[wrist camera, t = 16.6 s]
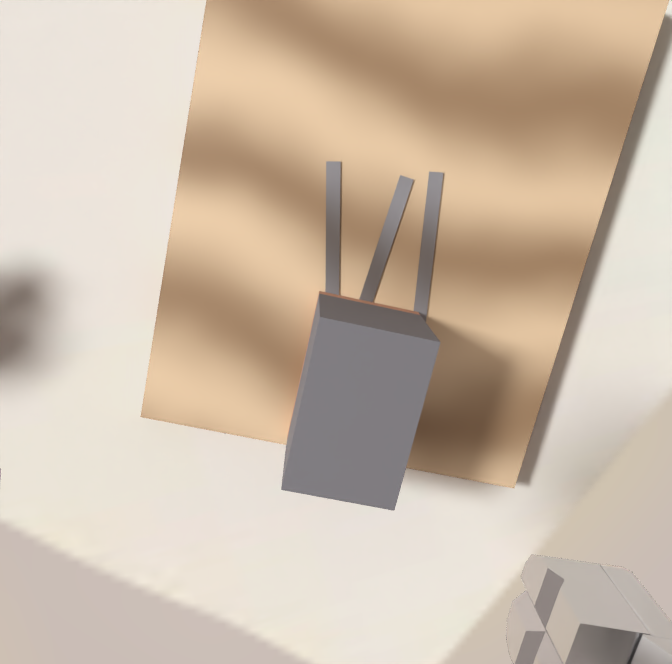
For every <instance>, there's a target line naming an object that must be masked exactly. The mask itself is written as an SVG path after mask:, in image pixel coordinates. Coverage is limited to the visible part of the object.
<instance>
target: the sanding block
mask: <svg viewBox="0 0 672 664" xmlns="http://www.w3.org/2000/svg"><path fill="white" fill-rule="evenodd" d="M439 346H440V341H439V339H438V338H437V337H436V335H435V334H434V333H433V331H432V330H431V329H430V327H429V326H428V325H427V323H426V322H425V321H424V319H423V318H422V316H421V315H420V314H419V312H416V311H411V310H406V309H402V308H397V307H392V306H388V305H383V304H378V303H374V302H369V301H364V300H360V299H355V298H350V297H346V296H341V295H336V294H332V293H327V292H322V291H319V294H318V298H317V303H316V307H315V312H314V317H313V321H312V326H311V330H310V335H309V339H308V344H307V348H306V353H305V358H304V362H303V367H302V371H301V376H300V380H299V385H298V389H297V394H296V399H295V403H294V408H293V412H292V417H291V421H290V426H289V431H288V435H287V444H286V452H285V461H284V470H283V479H282V488H281V490H285V491H291V492H296V493H302V494H307V495H313V496H318V497H323V498H329V499H334V500H340V501H345V502H351V503H356V504H361V505H367V506H372V507H378V508H383V509H389V510H395V506H396V502H397V499H398V495H399V491H400V488H401V484H402V481H403V477H404V473H405V470H406V466H407V462H408V459H409V455H410V451H411V448H412V444H413V441H414V437H415V433H416V430H417V426H418V422H419V419H420V415H421V412H422V408H423V404H424V401H425V397H426V393H427V390H428V386H429V382H430V379H431V375H432V372H433V368H434V364H435V361H436V357H437V353H438V350H439Z"/></svg>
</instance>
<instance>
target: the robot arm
mask: <svg viewBox="0 0 672 664" xmlns="http://www.w3.org/2000/svg"><path fill="white" fill-rule="evenodd" d="M0 478H1V469H0ZM521 579H522V582H523V584H524V587H525V589H526V591H524V592H523V593H522V594H521V595H520V596H518V597H517V598H516V599H514V600H513V601H512V605H511V608H510V611H509V615H508V618H507V634H506V640H507V645H508V651H509V655H510V657H511V660H512V662H513V664H672V621H671V620H670V619H669V618H668V616H667V615H666V614H665V613H664V611H663V610H662V609H661V607H660V606H659V605H658V604H657V603H656V601H655V600H654V599H653V598H652V596H651V595H650V594H649V593H648V591H647V590H646V589H645V587H644V586H643V585H642V584H641V582H640V581H639V580H638V578H637V577H636V576H635V575H634V574H633V572H631V571H630V570H628V569H626V568H624V567H620V566H613V565H604V564H597V563H589V562H582V561H576V560H569V559H562V558H555V557H548V556H541V555H532V554H531V556H530V557H529V559H528V560H527V561H526V563H525V565H524V568H523V571H522V574H521Z"/></svg>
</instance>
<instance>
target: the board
mask: <svg viewBox="0 0 672 664" xmlns="http://www.w3.org/2000/svg"><path fill="white" fill-rule="evenodd" d="M668 2H669V0H207V1H206V7H205V14H204V20H203V26H202V33H201V39H200V45H199V51H198V58H197V64H196V70H195V77H194V83H193V89H192V96H191V102H190V108H189V115H188V121H187V127H186V134H185V140H184V146H183V152H182V159H181V165H180V171H179V178H178V184H177V190H176V197H175V203H174V209H173V216H172V222H171V228H170V235H169V241H168V247H167V253H166V260H165V266H164V272H163V279H162V285H161V291H160V298H159V304H158V310H157V317H156V323H155V329H154V336H153V342H152V348H151V355H150V361H149V367H148V373H147V380H146V386H145V392H144V399H143V405H142V411H141V417H143V418H149V419H154V420H159V421H164V422H169V423H175V424H180V425H185V426H190V427H196V428H201V429H206V430H211V431H217V432H222V433H227V434H232V435H237V436H243V437H248V438H253V439H258V440H264V441H269V442H274V443H279V444H285V445H286V444H287V435H288V431H289V426H290V421H291V417H292V412H293V408H294V403H295V399H296V394H297V389H298V385H299V380H300V376H301V371H302V367H303V362H304V358H305V353H306V348H307V344H308V339H309V335H310V330H311V326H312V321H313V317H314V312H315V307H316V303H317V298H318V294H319V291H322V292H327V293H332V294H336V295H341V296H346V297H350V298H355V299H360V300H364V301H369V302H374V303H378V304H383V305H388V306H392V307H397V308H402V309H406V310H411V311H416V312H419V314H420V315H421V316H422V318H423V319H424V321H425V322H426V323H427V325H428V326H429V327H430V329H431V330H432V331H433V333H434V334H435V335H436V337H437V338H438V339H439V341H440V346H439V350H438V353H437V357H436V361H435V364H434V368H433V372H432V375H431V379H430V382H429V386H428V390H427V393H426V397H425V401H424V404H423V408H422V412H421V415H420V419H419V422H418V426H417V430H416V433H415V437H414V441H413V444H412V448H411V451H410V455H409V459H408V462H407V466H406V468H410V469H415V470H421V471H426V472H431V473H436V474H441V475H447V476H452V477H457V478H462V479H468V480H473V481H478V482H483V483H488V484H494V485H499V486H504V487H509V488H514V487H515V484H516V481H517V478H518V475H519V472H520V468H521V465H522V462H523V459H524V456H525V453H526V450H527V446H528V443H529V440H530V437H531V434H532V431H533V427H534V424H535V421H536V418H537V415H538V412H539V409H540V405H541V402H542V399H543V396H544V393H545V390H546V387H547V383H548V380H549V377H550V374H551V371H552V368H553V364H554V361H555V358H556V355H557V352H558V349H559V346H560V342H561V339H562V336H563V333H564V330H565V327H566V324H567V320H568V317H569V314H570V311H571V308H572V305H573V301H574V298H575V295H576V292H577V289H578V286H579V283H580V279H581V276H582V273H583V270H584V267H585V264H586V260H587V257H588V254H589V251H590V248H591V245H592V242H593V238H594V235H595V232H596V229H597V226H598V223H599V220H600V216H601V213H602V210H603V207H604V204H605V201H606V197H607V194H608V191H609V188H610V185H611V182H612V179H613V175H614V172H615V169H616V166H617V163H618V160H619V157H620V153H621V150H622V147H623V144H624V141H625V138H626V134H627V131H628V128H629V125H630V122H631V119H632V116H633V112H634V109H635V106H636V103H637V100H638V97H639V94H640V90H641V87H642V84H643V81H644V78H645V75H646V71H647V68H648V65H649V62H650V59H651V56H652V53H653V49H654V46H655V43H656V40H657V37H658V34H659V30H660V27H661V24H662V21H663V18H664V15H665V12H666V8H667V5H668Z"/></svg>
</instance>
